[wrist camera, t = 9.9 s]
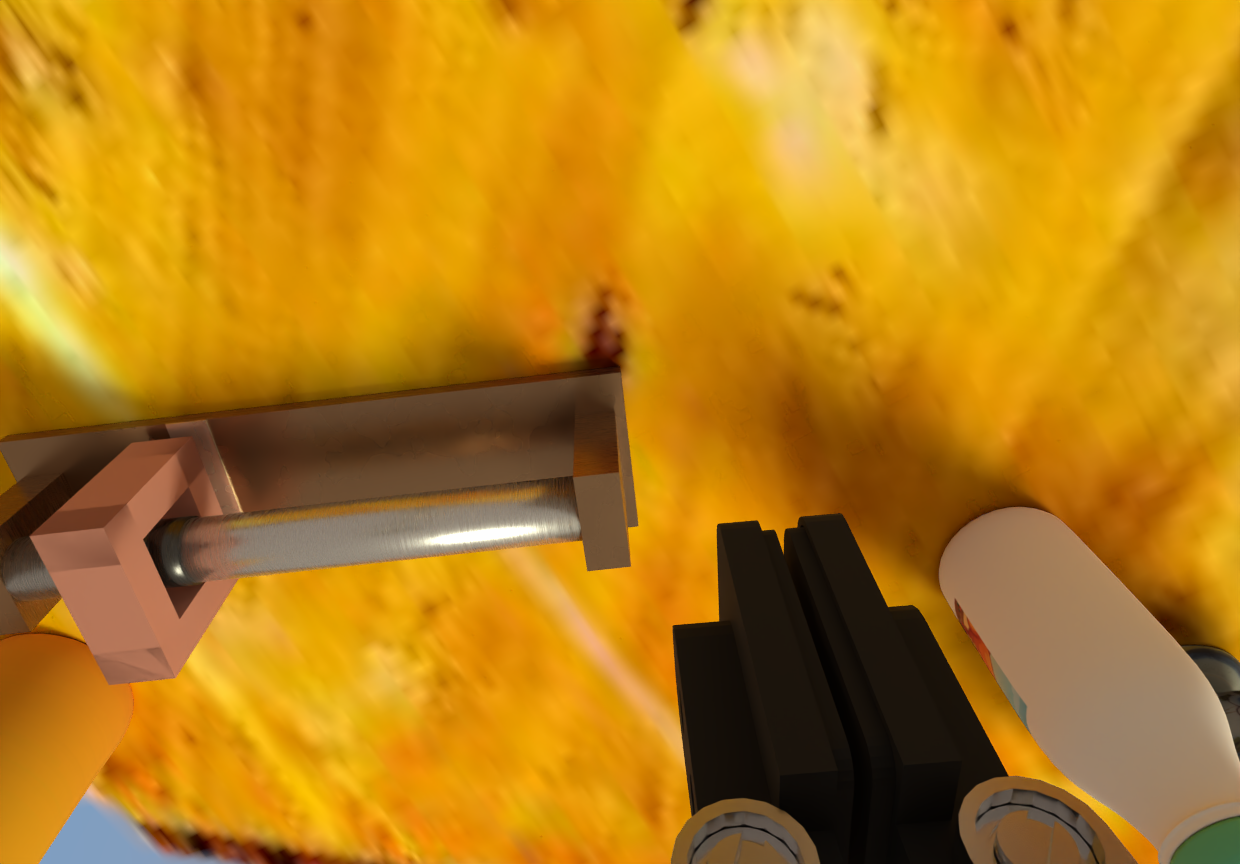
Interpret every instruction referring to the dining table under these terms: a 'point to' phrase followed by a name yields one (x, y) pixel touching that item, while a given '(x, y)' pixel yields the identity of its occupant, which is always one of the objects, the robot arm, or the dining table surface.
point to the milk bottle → (1098, 681)
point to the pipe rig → (352, 482)
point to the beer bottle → (51, 737)
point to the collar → (132, 561)
